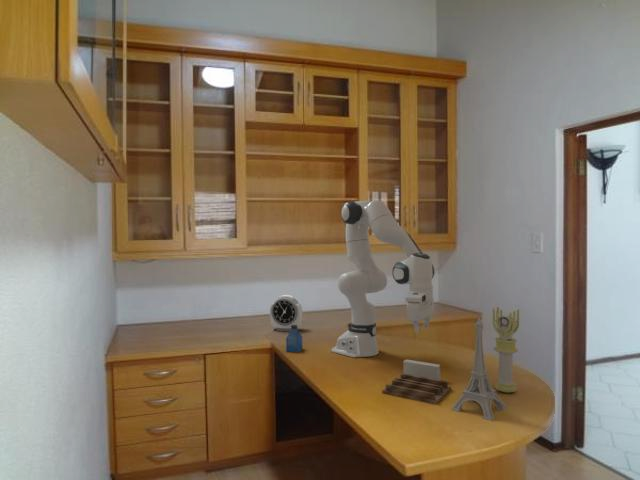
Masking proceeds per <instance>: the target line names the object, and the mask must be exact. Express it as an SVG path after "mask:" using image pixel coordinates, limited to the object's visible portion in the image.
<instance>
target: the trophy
mask: <svg viewBox="0 0 640 480" xmlns="http://www.w3.org/2000/svg"><path fill="white" fill-rule="evenodd" d="M492 325H493V329H494V330H495V332H496V333H497V334H498V337H495V338H494V340H495V341H496V342H495V343H496V345H495V347H493V350H494V351H495V352H497V353H498V379H497V381H496V383H495V384H494V389H495V390H497V391H498V392H502V393H506V394H507V393H515V392H516V391H517V389H518V388H517V386H516V383H515V382H514V380H513V354H516V353H517V352H519V349H517V347H516V342H518V341H517V339H516V338H514V337H513V336H514V334H515V333H517V331H518V329H519V327H520V309H517V310H513V311H512V312H509V313H508V314H504V315H503V310H502V309H500V308H499V306H496V309H495V308H494V307H492Z"/></svg>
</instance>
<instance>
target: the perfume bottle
mask: <svg viewBox="0 0 640 480" xmlns="http://www.w3.org/2000/svg"><path fill="white" fill-rule="evenodd" d="M298 330H299V327H298V328H297V325H291V331H289V333H288V334H287V336H286V338H285V339H286V340H285V347H286V348H285V350H286V351H285V352H289V353H290V352H291V353H292V352H293V353H300V351H302V350H303V335H302V333H301V332H300V331H298Z"/></svg>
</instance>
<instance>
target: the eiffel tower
mask: <svg viewBox="0 0 640 480" xmlns="http://www.w3.org/2000/svg"><path fill="white" fill-rule="evenodd" d="M483 329H484V323H483V322H482V319H481V318H480V317H477V321H476V323H475V326H474V330H475V332H476V335H475V337H476V338H475V348H474V349H475V350H474V357H473V358H474V359H473V366H472V371H470V374H471V376H470V379H469V381H468V383H467V386H466V388H464V390H462V395H461V396H460V397H459V398H458V400H457V401H456V402H455V404H453V406H452V407H451V408H450V410H452V411H455V412H458V413H459V412H460V411H462V410H463V406H464V404H465V403H466V402H472V403H473V402H477V403H478V404H479V405H480V407H481V409H482V411H483V417H482V419H484V420H486V421H491V422H493V420H495V418H496V417H495V416H494V414H493V411H492V410H493V409H492V405H491V404H492V401H493V402H494V404H495V406H496V407H495V409H498V410H502V411H505V410H507V408H508V406H506V405H505V403H504V402H503V400H502V399H501V398H500V397H499V396H498V395H497V393H496V392H497V391H496V390H497V389H495V388H494V389H493V387H492V384H491V383H490V380H489V377H488V373H489V372H488V371H487V369H486V364H485V356H484V345H483Z"/></svg>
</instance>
